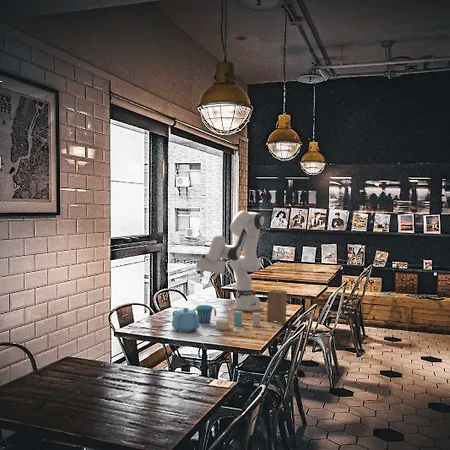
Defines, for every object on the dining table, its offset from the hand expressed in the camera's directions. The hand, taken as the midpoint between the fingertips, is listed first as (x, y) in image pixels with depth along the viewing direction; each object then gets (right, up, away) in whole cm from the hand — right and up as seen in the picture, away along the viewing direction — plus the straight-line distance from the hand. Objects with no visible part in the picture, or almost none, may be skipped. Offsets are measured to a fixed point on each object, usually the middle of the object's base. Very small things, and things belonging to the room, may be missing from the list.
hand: (207, 278), depth 334 cm
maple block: (+10, -29, -18) cm, 36 cm away
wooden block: (+46, -29, +4) cm, 55 cm away
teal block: (+20, -29, -12) cm, 37 cm away
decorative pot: (-13, -29, -27) cm, 41 cm away
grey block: (+31, -29, -11) cm, 44 cm away
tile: (+20, -29, -22) cm, 42 cm away
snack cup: (-2, -28, -5) cm, 29 cm away
